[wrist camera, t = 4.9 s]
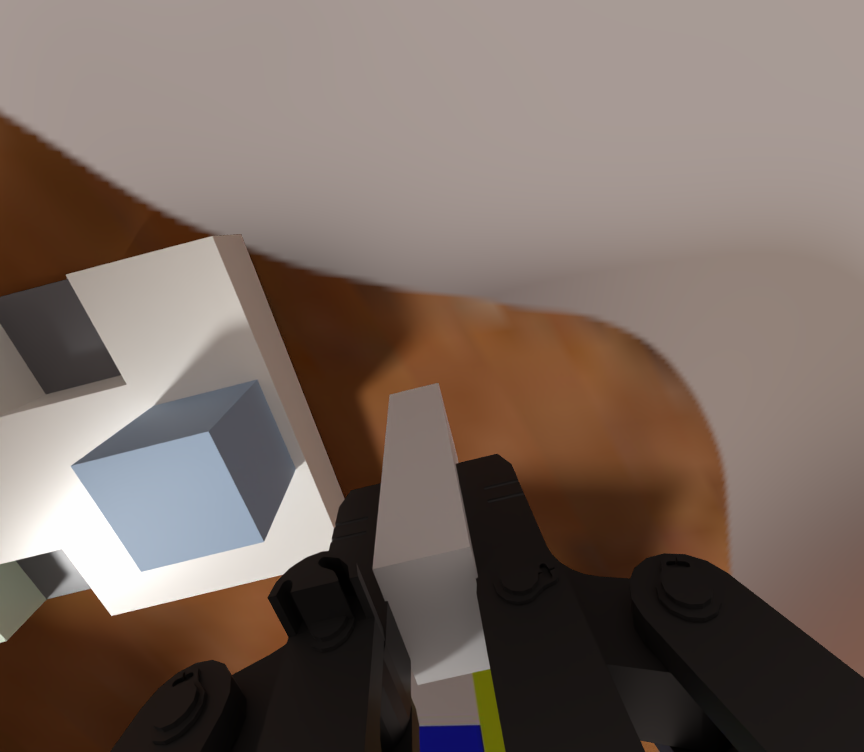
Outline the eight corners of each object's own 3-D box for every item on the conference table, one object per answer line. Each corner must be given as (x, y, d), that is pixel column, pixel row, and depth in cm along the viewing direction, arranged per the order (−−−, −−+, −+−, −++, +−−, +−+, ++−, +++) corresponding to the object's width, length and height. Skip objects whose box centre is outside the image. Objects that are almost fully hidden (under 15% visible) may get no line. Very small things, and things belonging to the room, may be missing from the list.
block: (200, 492, 16) (141, 572, 13) (153, 405, 15) (70, 466, 11) (296, 469, 16) (264, 541, 13) (257, 379, 15) (208, 431, 11)
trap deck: (-41, 616, 21) (-97, 665, 19) (-272, 368, 16) (-388, 393, 14) (353, 520, 20) (346, 558, 18) (241, 234, 15) (212, 236, 13)
